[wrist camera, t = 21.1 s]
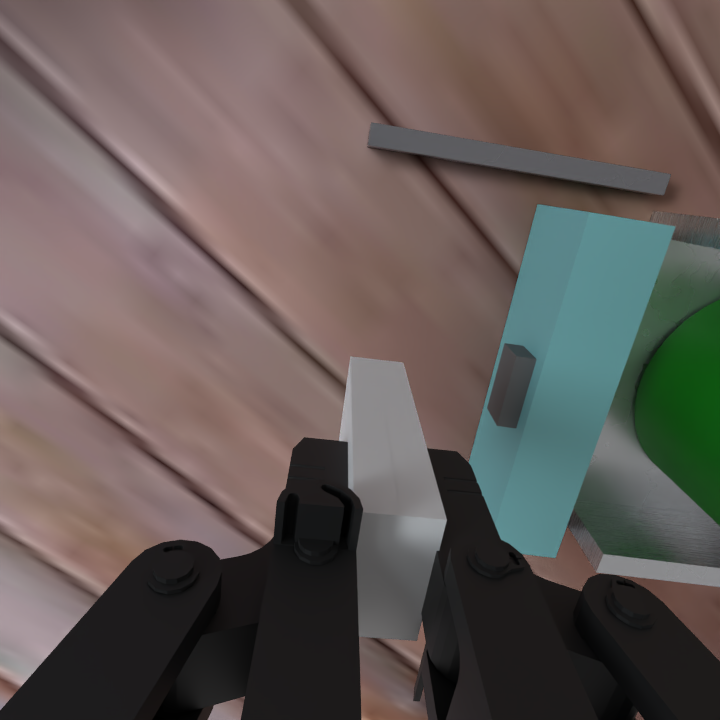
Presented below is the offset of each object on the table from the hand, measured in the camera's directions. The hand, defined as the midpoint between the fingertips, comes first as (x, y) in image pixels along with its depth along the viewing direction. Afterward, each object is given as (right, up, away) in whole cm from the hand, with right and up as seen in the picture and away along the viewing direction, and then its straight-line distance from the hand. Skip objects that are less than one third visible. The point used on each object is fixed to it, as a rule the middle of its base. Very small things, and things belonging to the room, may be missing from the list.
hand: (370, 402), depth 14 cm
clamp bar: (+8, +1, +9) cm, 12 cm away
